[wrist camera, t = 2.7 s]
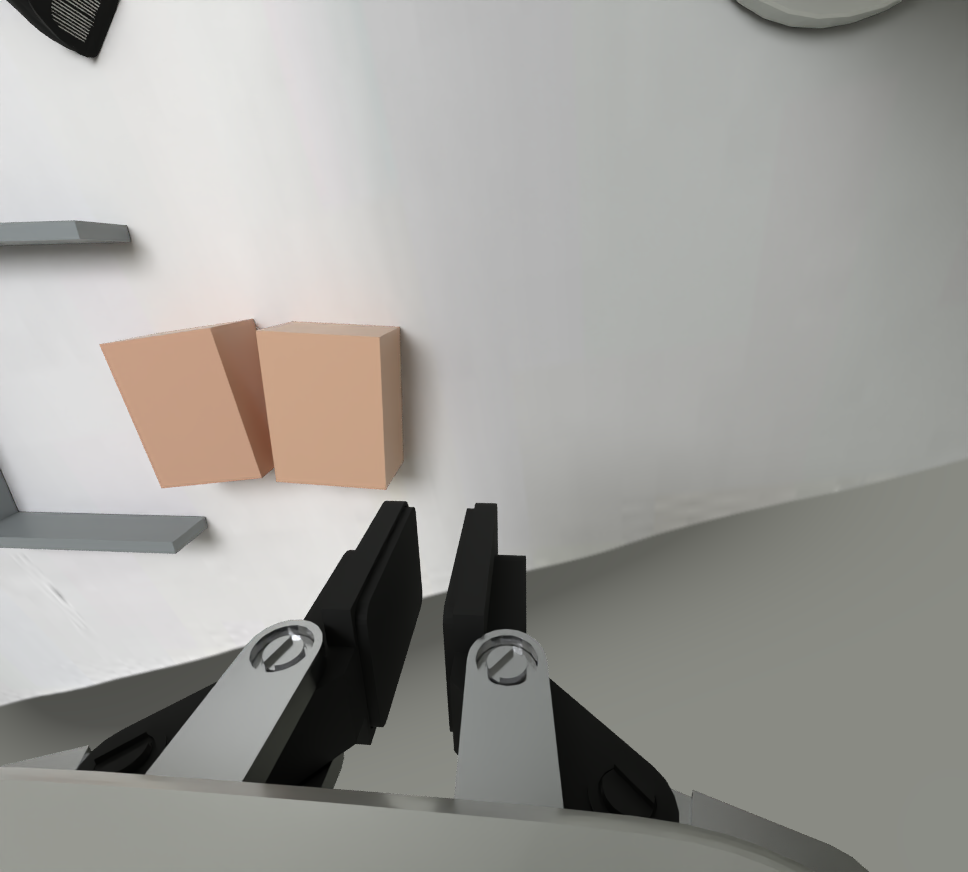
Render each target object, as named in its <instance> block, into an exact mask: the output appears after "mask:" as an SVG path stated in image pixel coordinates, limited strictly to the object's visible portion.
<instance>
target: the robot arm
mask: <svg viewBox="0 0 968 872" xmlns="http://www.w3.org/2000/svg"><path fill="white" fill-rule="evenodd" d="M736 1H737V2H738V3H740V4H741V5H743V6H744V7H746V8H748V9H749V10H751V11H753V12H754V13H756V14H757V15H759V16H761V17H762V18H764V19H768V20H771V21H774V22H777V23H781V24H784V25H787V26H790V27H805V28H826V27H832V26H838V25H844V24H850V23H854V22H857V21H859V20H862V19H865V18H867V17H870V16H873V15H875V14H878V13H880V12H883V11H886V10H887V9H889V8H891V7H892V6H894V5H896V4H897V3H899V2H901V1H903V0H736ZM421 604H422V582H421V570H420V558H419V546H418V534H417V522H416V511H415V508H414V507H408V503H407V502H406V501H384V503H383V504H382V506H381V508H380V509H379V511H378V513H377V514H376V516H375V518H374V519H373V521H372V523H371V524H370V526H369V528H368V530H367V531H366V533H365V535H364V536H363V538H362V540H361V541H360V543H359V545H358V547H357V548H356V550H349V551H347V552H346V553H345V554H344V555H343V557H342V559H341V560H340V562H339V563H338V565H337V567H336V568H335V570H334V572H333V573H332V575H331V576H330V578H329V580H328V581H327V583H326V584H325V586H324V588H323V589H322V591H321V592H320V594H319V596H318V597H317V599H316V601H315V602H314V604H313V605H312V607H311V609H310V610H309V612H308V613H307V615H306V617H305V618H304V620H288V621H284V622H280V623H277V624H275V625H273V626H270V627H268V628H266V629H265V630H263V631H262V632H260V633H259V634H257V635H256V636H255V637H254V638H253V639H252V640H251V641H250V642H249V643H248V644H247V645H246V646H245V647H244V649H243V650H242V651H241V653H240V654H239V655H238V657H237V658H236V659H235V660H234V662H233V663H232V664H231V665H230V667H229V668H228V669H227V670H226V672H225V673H224V674H223V676H222V677H221V678H220V680H219V681H217V682H215V683H214V684H212V685H210V686H208V687H206V688H204V689H202V690H200V691H198V692H196V693H194V694H192V695H190V696H188V697H186V698H184V699H182V700H180V701H178V702H176V703H174V704H172V705H170V706H168V707H166V708H165V709H162V710H160V711H158V712H156V713H154V714H152V715H150V716H148V717H146V718H145V719H142V720H140V721H138V722H137V723H135V724H133V725H131V726H129V727H127V728H125V729H123V730H121V731H119V732H118V733H116V734H114V735H113V736H111V737H110V738H108V739H106V740H105V741H104V742H103V743H101V744H100V745H99V746H98V747H97V748H95V749H94V750H93V751H91V749H90V747H89V746H85V747H81V748H76V749H72V750H68V751H63V752H59V753H54V754H50V755H46V756H41V757H37V758H33V759H29V760H24V761H20V762H15V763H11V764H7V765H3V766H0V872H869V871H867V870H866V869H865V868H864V867H863V866H862V865H860V864H859V863H858V862H857V861H856V860H855V859H854V858H853V857H851V856H849V855H848V854H846V853H844V852H842V851H840V850H839V849H837V848H835V847H833V846H831V845H829V844H827V843H824V842H822V841H819V840H817V839H814V838H812V837H809V836H807V835H804V834H802V833H799V832H797V831H794V830H792V829H789V828H787V827H784V826H782V825H779V824H777V823H774V822H772V821H769V820H767V819H764V818H762V817H759V816H757V815H754V814H752V813H749V812H747V811H744V810H742V809H739V808H737V807H734V806H732V805H730V804H727V803H725V802H722V801H720V800H717V799H715V798H712V797H709V796H707V795H705V794H702V793H700V792H697V791H694V790H693V792H692V797H690V796H688V795H685V794H683V793H680V792H678V791H675V790H673V789H671V788H670V787H669V785H668V783H667V782H666V780H665V779H664V777H662V775H661V774H660V773H659V772H658V771H657V770H656V769H655V768H654V767H653V766H652V765H651V764H650V763H648V762H647V761H646V760H645V759H644V758H642V756H640V755H639V754H638V753H637V752H636V751H634V750H633V749H632V748H631V747H630V746H629V745H627V744H626V743H625V742H624V741H623V740H622V739H620V738H619V737H618V736H617V735H615V733H613V732H612V731H611V730H610V729H609V728H607V727H606V726H605V725H604V724H603V723H602V722H600V721H599V720H598V719H597V718H596V717H594V716H593V715H592V714H591V713H590V712H589V711H587V710H586V709H585V708H584V707H583V706H582V705H580V704H579V703H578V702H577V701H576V700H575V699H573V698H572V697H571V696H570V695H569V694H567V693H566V692H565V691H564V690H563V689H562V688H560V687H559V686H558V685H557V684H556V683H555V682H553V681H552V680H551V679H550V678H549V673H548V664H547V658H546V655H545V651H544V649H543V648H542V646H541V645H540V644H539V642H538V641H537V640H535V639H534V638H533V637H531V636H530V635H528V634H526V556H516V555H498V522H497V504H496V503H476V504H475V508H474V509H470V508H468V509H467V511H466V515H465V520H464V524H463V528H462V532H461V537H460V541H459V545H458V549H457V554H456V558H455V562H454V566H453V571H452V575H451V579H450V583H449V588H448V592H447V597H446V601H445V605H444V615H443V632H444V633H443V634H444V650H445V665H446V680H447V696H448V711H449V726H450V731H451V732H453V739H454V751H455V752H456V753H457V755H458V764H457V775H456V787H455V797H454V799H450V798H438V797H427V796H415V795H403V794H391V793H378V792H365V791H354V790H353V791H352V790H341V789H333V788H334V786H335V783H336V781H337V778H338V776H339V773H340V771H341V768H342V764H343V760H344V752H345V751H346V750H347V749H349V748H350V747H352V746H353V745H355V744H365V745H371V743H372V739H373V736H374V733H375V730H376V727H384V725H385V723H386V720H387V717H388V714H389V711H390V708H391V704H392V701H393V697H394V694H395V691H396V687H397V684H398V681H399V677H400V674H401V671H402V668H403V664H404V661H405V658H406V655H407V651H408V648H409V644H410V641H411V638H412V635H413V631H414V628H415V625H416V621H417V618H418V615H419V611H420V608H421Z"/></svg>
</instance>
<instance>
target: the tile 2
mask: <svg viewBox="0 0 968 872" xmlns="http://www.w3.org/2000/svg"><path fill="white" fill-rule="evenodd" d="M256 337H257V344H258V352H259V359H260V366H261V373H262V381H263V388H264V395H265V403H266V410H267V417H268V424H269V432H270V439H271V446H272V454H273V461H274V468H275V476H276V482H287V483H300V484H314V485H328V486H341V487H355V488H368V489H382V490H386V489H387V487H388V486H389V484H390V482H391V481H392V479H393V477H394V476H395V474H396V473H397V471H398V469H399V468H400V466H401V464H402V463H403V425H402V388H401V351H400V327H395V326H376V325H356V324H336V323H316V322H297V321H292V322H288V323H284V324H280V325H276V326H272V327H268V328H264V329H260V330H256Z"/></svg>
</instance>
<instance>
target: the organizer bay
mask: <svg viewBox="0 0 968 872" xmlns="http://www.w3.org/2000/svg"><path fill="white" fill-rule="evenodd" d="M108 242H131V240H130V237H129V233H128V229H127V225H117V224H106V223H96V222H85V221H75V220H74V221H42V222H11V223H0V245H35V244H72V243H108ZM206 528H207V523H206V519H205V517H196V516H159V515H122V514H85V513H48V512H18V510H17V508H16V505H15V503H14V501H13V499H12V496H11V494H10V492H9V489H8V487H7V485H6V482H5V480H4V478H3V475H2V473H1V471H0V548H24V549H53V550H82V551H111V552H140V553H169V554H176V553H177V552H178V551H180V550H181V549H182V548H183V547H184V546H186V545H187V544H188V543H189V542H190V541H192V540H193V539H194V538H195V537H196V536H198V535H199V534H200V533H201V532H202V531H204V530H205V529H206Z"/></svg>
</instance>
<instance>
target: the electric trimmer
mask: <svg viewBox="0 0 968 872" xmlns="http://www.w3.org/2000/svg"><path fill="white" fill-rule="evenodd" d="M7 1H8V2H9V3H10V4H11V5H12V6H13V7H14V8H16V9H17V10H18V11H19V12H20V13H21V14H22V15H23V16H24V17H25V18H26V19H27V20H28V21H29V22H30V23H31V24H32V25H33V26H35V27H36V28H37V29H38V30H39V31H40V32H42V33H43V34H45V35H46V36H48V37H49V38H50V39H52V40H54V41H56V42H57V43H59V44H61V45H63V46H64V47H66V48H68V49H70V50H73V51H75V52H77V53H79V54H80V55H83V56H86V57H95V56H97V54H98V53H99V51H100V49H101V46H102V44H103V41H104V39H105V36H106V33H107V31H108V28H109V26H110V23H111V21H112V18H113V16H114V13H115V11H116V7H117V4H118V0H7Z"/></svg>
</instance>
